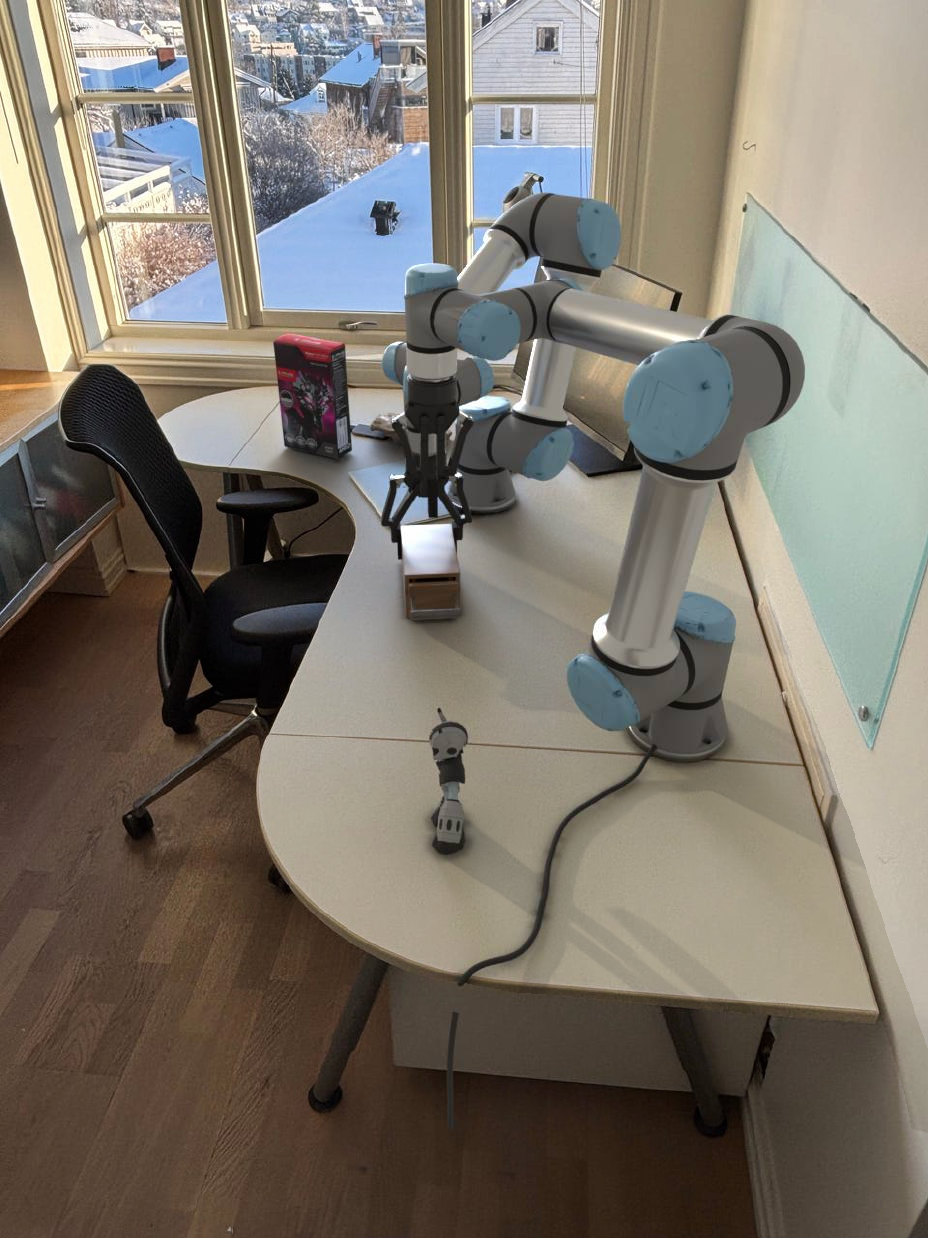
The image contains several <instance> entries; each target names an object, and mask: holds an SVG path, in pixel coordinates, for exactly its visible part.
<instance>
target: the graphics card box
mask: <svg viewBox="0 0 928 1238" xmlns="http://www.w3.org/2000/svg"><path fill="white" fill-rule="evenodd" d="M272 344H273V345H272V346H273V349H274V350H273V353H274V361H275V362H274V363H275V371H276V380H277V381H276V382H277V390H278V398H279V399H278V400H279V408H280V417H281V418H280V419H281V428H282V435H283V436H282V437H283V446H284V447H285V448H289V449H294V450H298V451H302V452H306V453H311V454H315V455H319V456H323V457H328V458H333V459H336V460H338V459H339V460H340V458H342V457H344V456H346V455H347V454H349V453H350V452H352V451H353V446H352V429H351V415H350V402H349V401H350V400H349V385H348V370H347V356H346V343H345V342H339V341H338V342H337V341H333V340H327V339H321V338H317V337H311V336H305V335H300V334H295V333H289V332H288V333H285V334H282V335H280V336H279V337H277V338H276V339H274V340H273V342H272Z"/></svg>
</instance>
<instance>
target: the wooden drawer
mask: <svg viewBox="0 0 928 1238" xmlns="http://www.w3.org/2000/svg"><path fill="white" fill-rule="evenodd" d="M408 590H409V617H408V618H409V621H419V620H420V621H422V620H423V621H424V620H440V619H441V620H442V619H459V618H461V617H462V609H461V607H460V608H458V581H453V577H440V578H418V579H410V583H408Z"/></svg>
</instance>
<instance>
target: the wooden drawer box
mask: <svg viewBox="0 0 928 1238" xmlns="http://www.w3.org/2000/svg"><path fill="white" fill-rule="evenodd" d="M401 545H402V560H400V561H401V573H402V574H401V577H402V585H403V586H402V587H403V588H402V589H403V600H404V611H405V612H404V613H405V618H409V590H408V583H410V579H418V578H440V577H453V581H458V608H460V609H461V570H460V564H459V559H458V552H457V553H456V547H455V542H454V536H453V531H452V523H441V524H438V523H437V524H414V525H411V524H410V525H401Z"/></svg>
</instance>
